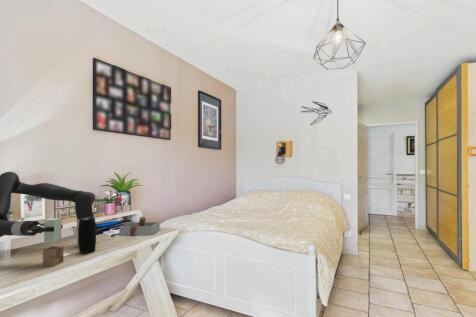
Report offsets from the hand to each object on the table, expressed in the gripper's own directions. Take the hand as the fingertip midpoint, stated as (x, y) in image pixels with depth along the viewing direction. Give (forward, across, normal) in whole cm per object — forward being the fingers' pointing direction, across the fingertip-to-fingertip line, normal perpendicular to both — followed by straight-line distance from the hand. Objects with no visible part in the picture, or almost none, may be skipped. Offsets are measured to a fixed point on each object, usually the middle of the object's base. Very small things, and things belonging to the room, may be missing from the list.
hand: (57, 227), depth 129 cm
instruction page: (-9, +11, +18) cm, 23 cm away
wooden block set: (+17, +60, +18) cm, 65 cm away
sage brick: (-3, 0, +6) cm, 7 cm away
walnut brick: (-2, 0, +18) cm, 18 cm away
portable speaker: (+4, +18, +18) cm, 26 cm away
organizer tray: (+17, +60, +18) cm, 65 cm away
